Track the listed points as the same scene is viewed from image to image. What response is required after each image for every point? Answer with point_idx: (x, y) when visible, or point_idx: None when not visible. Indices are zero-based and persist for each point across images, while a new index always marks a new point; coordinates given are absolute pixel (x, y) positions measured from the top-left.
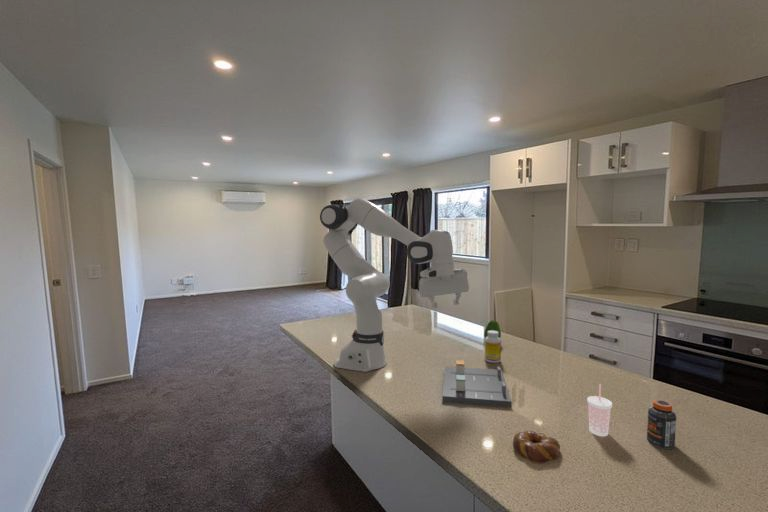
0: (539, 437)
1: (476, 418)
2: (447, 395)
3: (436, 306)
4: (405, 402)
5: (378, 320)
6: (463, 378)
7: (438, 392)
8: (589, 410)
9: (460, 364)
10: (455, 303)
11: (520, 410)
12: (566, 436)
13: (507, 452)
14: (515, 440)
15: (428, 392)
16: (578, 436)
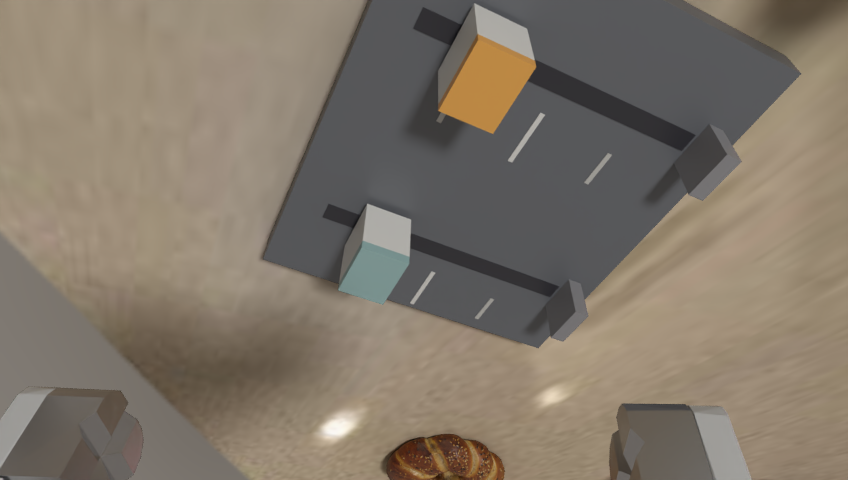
0: (464, 477)
1: (362, 348)
2: (288, 260)
3: (124, 459)
4: (83, 205)
5: None
6: (381, 291)
7: (272, 159)
8: None
9: (466, 121)
10: (613, 476)
11: (552, 346)
12: (567, 445)
13: (370, 453)
14: (394, 475)
15: (215, 147)
16: (598, 450)
